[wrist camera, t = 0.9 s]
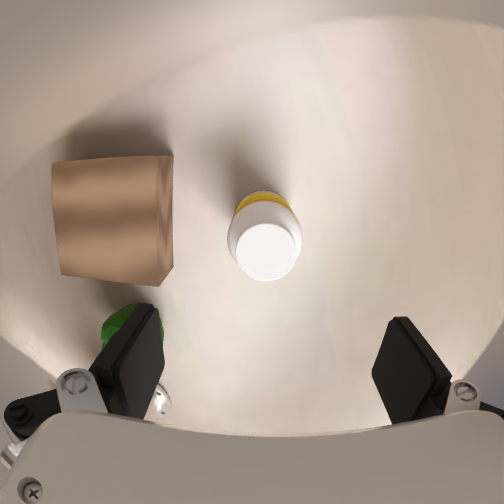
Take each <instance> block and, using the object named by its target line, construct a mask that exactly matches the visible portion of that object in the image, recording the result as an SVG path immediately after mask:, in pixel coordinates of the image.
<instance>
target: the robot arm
mask: <svg viewBox="0 0 504 504" xmlns="http://www.w3.org/2000/svg"><path fill="white" fill-rule="evenodd" d="M164 365H165V360H164V353H163V346H162V338H161V330H160V322H159V312H158V309H157V308H154V306H153V304H146V303H138V304H137V306H136V307H135V308H134V310H133V311H132V312H131V314H130V315H129V316H128V318H127V319H126V320H125V322H124V323H123V325H122V326H121V327H120V329H119V330H118V331H117V332H115V333H114V334H113V336H112V337H111V338H110V340H109V341H108V343H107V344H106V345H105V347H104V348H103V350H102V351H101V352H100V354H99V355H98V357H97V358H96V360H95V361H94V362H93V364H92V365H91V367H90V368H89V370H85V369H80V368H75V369H70V370H67V371H65V372H64V373H62V374H61V375H60V376H59V377H58V379H57V382H56V389H54V390H50V391H47V392H44V393H40V394H36V395H33V396H29V397H25V398H21V399H17V400H15V401H13V402H11V403H10V404H9V405H8V406H7V407H6V409H5V412H4V417H3V418H0V504H504V410H501V409H499V408H496V407H494V406H491V405H488V404H486V403H484V402H481V401H480V391H479V389H478V388H477V387H476V386H475V385H474V384H473V383H471V382H469V381H467V380H456V381H454V382H453V383H451V382H450V379H451V377H452V375H451V373H450V372H449V370H448V369H447V368H446V366H445V365H444V364H443V362H442V361H441V359H440V358H439V357H438V355H437V354H436V353H435V351H434V350H433V349H432V347H431V346H430V345H429V344H428V342H427V341H426V340H425V338H424V337H423V336H422V334H421V333H420V332H419V331H418V329H417V328H416V327H415V326H414V324H413V323H412V322H411V321H410V319H409V318H408V317H394V318H393V319H392V320H391V321H389V323H388V326H387V329H386V332H385V335H384V338H383V341H382V344H381V347H380V350H379V352H378V355H377V358H376V360H375V363H374V366H373V368H372V378H373V380H374V382H375V385H376V387H377V389H378V392H379V394H380V396H381V399H382V401H383V403H384V406H385V408H386V410H387V413H388V415H389V418H390V420H391V423H392V425H387V426H381V427H374V428H366V429H358V430H349V431H338V432H324V433H303V434H263V433H241V432H227V431H216V430H207V429H198V428H191V427H184V426H177V425H170V424H164V423H158V422H156V421H157V419H161V418H163V417H165V416H166V415H167V414H168V413H169V410H170V405H171V403H170V399H169V397H168V395H167V393H166V392H165V391H164V390H163V389H162V388H161V386H159V385H158V382H159V379H160V377H161V374H162V372H163V369H164Z"/></svg>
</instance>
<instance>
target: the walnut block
mask: <svg viewBox="0 0 504 504" xmlns="http://www.w3.org/2000/svg"><path fill="white" fill-rule="evenodd" d="M172 190H173V156H167V155H153V156H127V157H110V158H96V159H85V160H74V161H65V162H57V163H52V196H53V211H54V223H55V233H56V241H57V249H58V256H59V262H60V268H61V274H62V275H66V276H74V277H81V278H88V279H96V280H104V281H112V282H121V283H130V284H139V285H148V286H158V287H159V286H160V285H161V283H162V282H163V280H164V279H165V278H166V276H167V275H168V273H169V272H170V271H171V269H172V268H173V235H172Z"/></svg>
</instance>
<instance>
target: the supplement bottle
mask: <svg viewBox="0 0 504 504" xmlns="http://www.w3.org/2000/svg"><path fill="white" fill-rule="evenodd" d="M227 242H228V248H229V251H230V253H231V256H232V257H233V259H234V260H235V262H236V263H237V264H238V265H239V267H240V268H241V270H242V271H243V272H244V273H245V274H246V275H248V276H249V277H251V278H253V279H256V280H260V281H272V280H276V279H278V278H280V277H282V276H284V275H285V274H286V273H288V272H289V270H290V269H291V268H292V266H293V265H294V262H295V260H296V259H297V257H298V255H299V253H300V251H301V248H302V242H303V235H302V229H301V226H300V223H299V222H298V220H297V218H296V216H295V215H294V213H293V212H292V210H291V208H290V207H289V205H288V204H287V202H286V201H285V200H284V199H283V198H282V197H281V196H279V195H278V194H276V193H274V192H271V191H256V192H253V193H251V194H249V195H247V196H246V197H244V198H243V199H242V200H241V202H240V203H239V205H238V206H237V208H236V211H235V214H234V216H233V219H232V221H231V224H230V226H229V230H228V236H227Z"/></svg>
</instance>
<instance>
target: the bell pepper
mask: <svg viewBox="0 0 504 504" xmlns="http://www.w3.org/2000/svg"><path fill="white" fill-rule="evenodd" d="M136 306H137V305H129V306H127V307H125V308H123V309H121V310H119V311H118V312H116V313H115V314H113V315H111V316H110V317H109V318H108V319H107V320H106V321H105V322H104V323H103V326H102V331H101V339H102V340H103V341H104V342H103V346H102V349H103V348H104V347H105V345H106V344H107V343H108V341H109V340H110V338H111V337H112V336H113V334H114V333H115V332H117V331H118V330H119V329H120V327H121V326H122V325H123V323H124V322H125V320H126V319H127V318H128V316H129V315H130V314H131V312H132V311H133V310H134V308H135V307H136ZM159 322H160V330H161V338H162V346H163V338H164V330H163V327H162V323H161V320H160V319H159Z"/></svg>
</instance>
